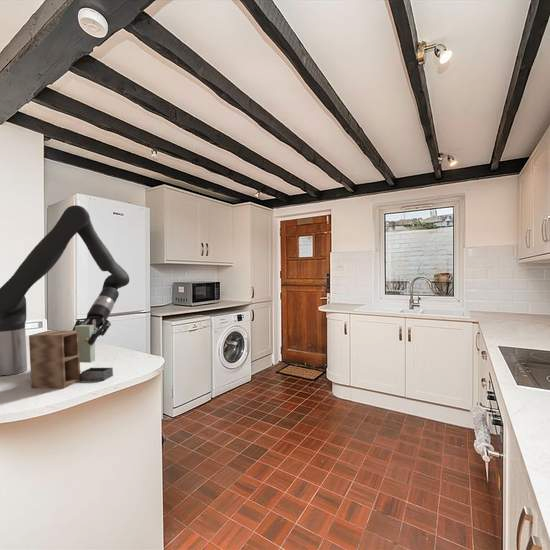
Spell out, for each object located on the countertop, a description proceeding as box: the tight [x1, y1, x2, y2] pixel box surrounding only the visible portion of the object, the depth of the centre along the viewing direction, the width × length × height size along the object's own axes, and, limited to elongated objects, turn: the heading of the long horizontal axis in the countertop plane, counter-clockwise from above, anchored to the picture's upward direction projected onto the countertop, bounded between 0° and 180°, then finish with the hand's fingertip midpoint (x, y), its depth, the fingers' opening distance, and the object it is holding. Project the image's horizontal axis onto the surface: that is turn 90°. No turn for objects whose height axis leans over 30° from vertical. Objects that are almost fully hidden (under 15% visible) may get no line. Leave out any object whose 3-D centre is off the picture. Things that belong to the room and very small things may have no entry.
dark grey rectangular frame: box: [79, 367, 114, 381], centre depth 112 cm, size 9×5×3 cm, turn 84°
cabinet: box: [28, 330, 81, 389], centre depth 107 cm, size 12×8×18 cm, turn 84°
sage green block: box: [74, 325, 96, 364], centre depth 119 cm, size 6×4×14 cm, turn 84°
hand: (81, 343), depth 118 cm, fingers closed on sage green block, 6 cm apart
